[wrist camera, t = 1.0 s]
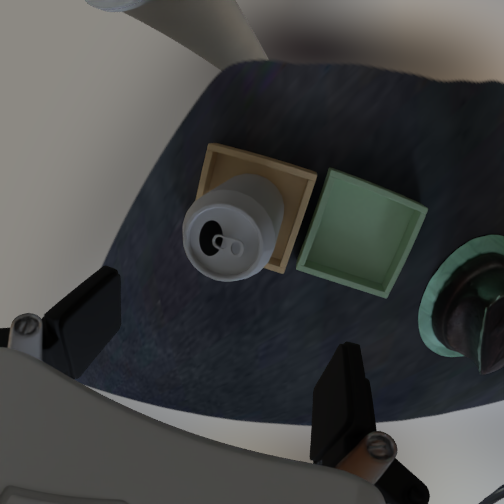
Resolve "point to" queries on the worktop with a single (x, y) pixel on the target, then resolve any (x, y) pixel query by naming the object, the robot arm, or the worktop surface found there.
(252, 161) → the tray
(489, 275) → the black and teal hat
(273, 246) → the can
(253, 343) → the worktop surface
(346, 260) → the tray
